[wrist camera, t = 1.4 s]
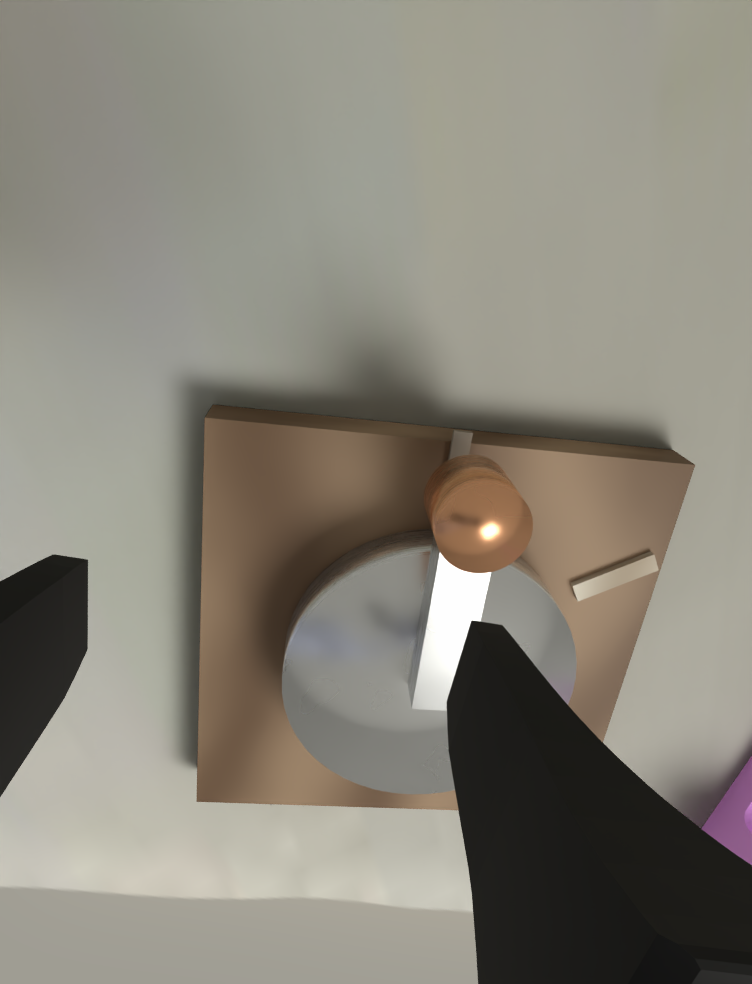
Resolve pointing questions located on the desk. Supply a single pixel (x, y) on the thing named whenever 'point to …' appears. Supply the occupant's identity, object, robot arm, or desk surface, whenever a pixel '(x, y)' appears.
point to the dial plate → (383, 511)
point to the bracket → (734, 816)
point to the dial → (416, 631)
